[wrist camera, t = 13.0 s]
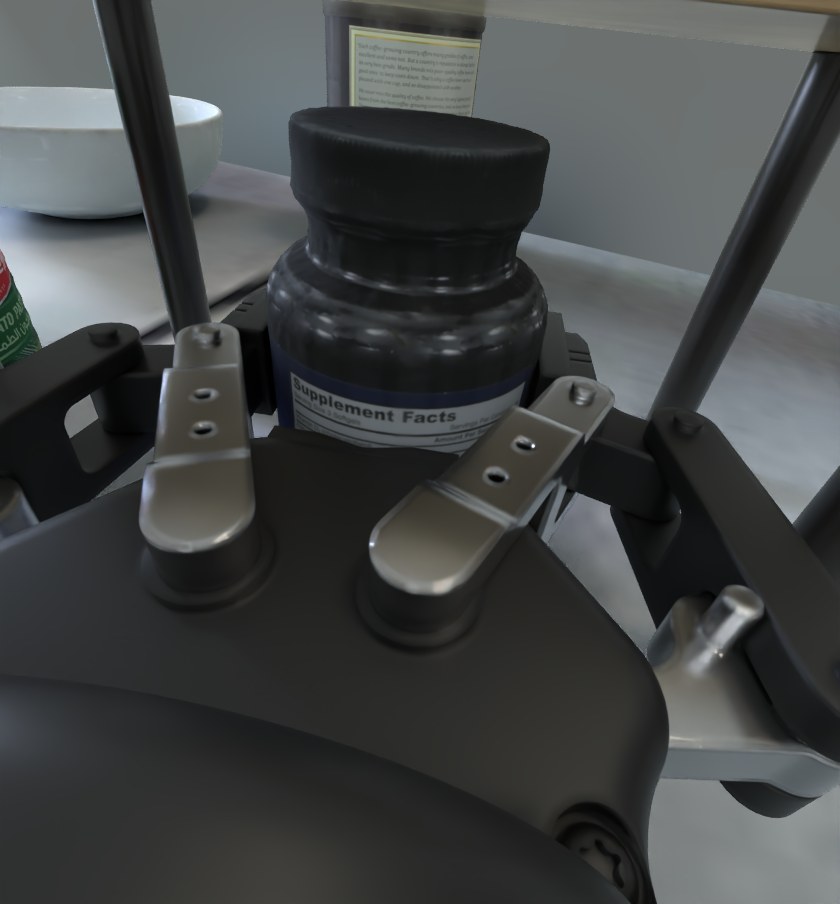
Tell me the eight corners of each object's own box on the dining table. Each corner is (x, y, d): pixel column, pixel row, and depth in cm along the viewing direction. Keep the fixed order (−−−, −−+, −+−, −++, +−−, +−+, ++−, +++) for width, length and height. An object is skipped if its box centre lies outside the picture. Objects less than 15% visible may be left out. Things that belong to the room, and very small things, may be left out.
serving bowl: (147, 164, 52) (129, 82, 48) (286, 214, 44) (279, 118, 39) (-111, 192, 39) (-169, 81, 35) (13, 271, 30) (-44, 136, 26)
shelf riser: (1, 562, 15) (-835, -656, 4) (197, 362, 24) (79, -182, 14) (772, 700, 14) (2169, -532, 3) (667, 434, 23) (936, -104, 12)
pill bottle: (344, 453, 19) (342, 93, 12) (504, 500, 18) (603, 130, 11) (250, 579, 14) (159, 112, 7) (458, 653, 13) (579, 180, 6)
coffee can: (301, 233, 40) (286, -8, 31) (387, 212, 47) (396, 9, 38) (402, 271, 36) (419, 3, 27) (481, 242, 42) (516, 19, 33)
